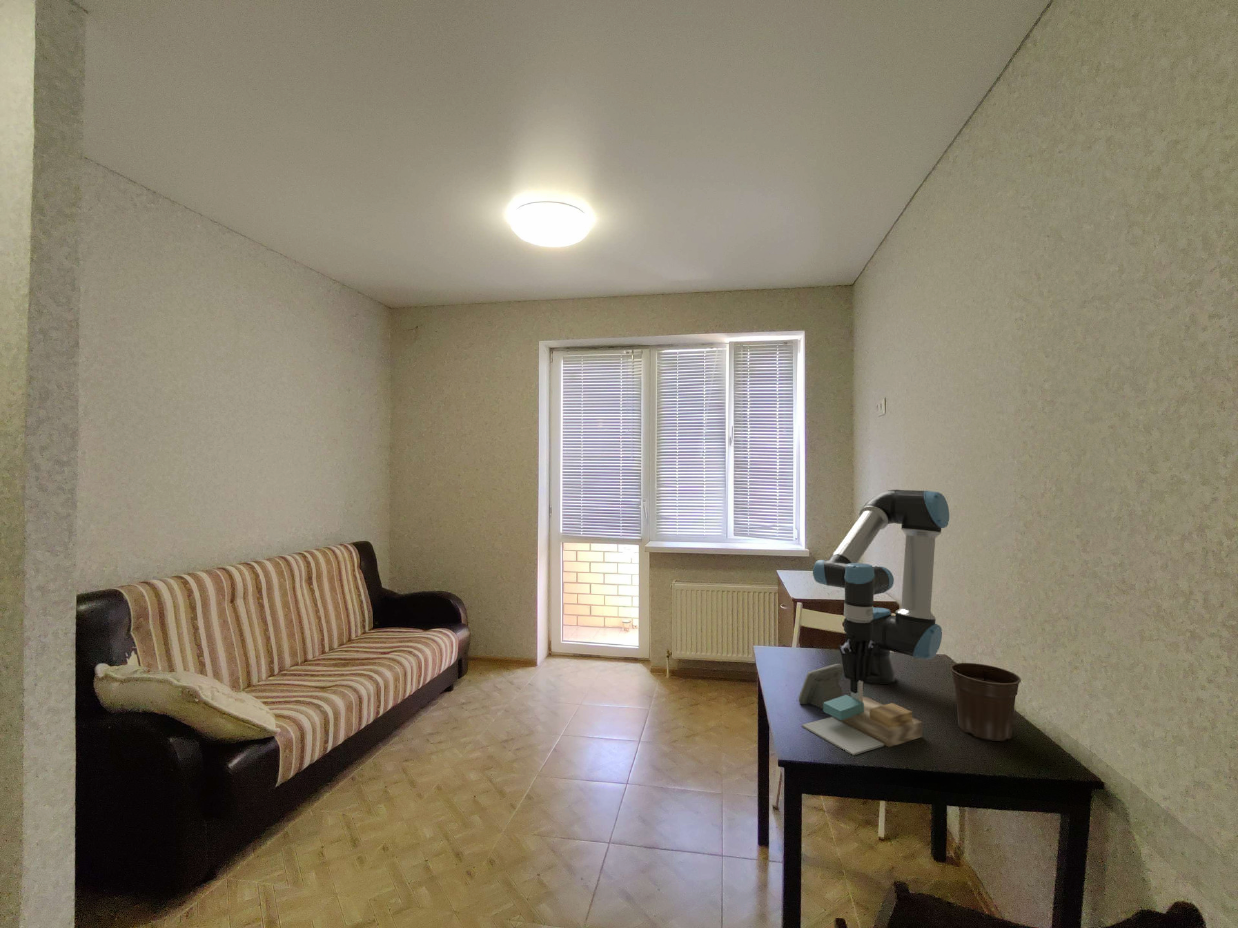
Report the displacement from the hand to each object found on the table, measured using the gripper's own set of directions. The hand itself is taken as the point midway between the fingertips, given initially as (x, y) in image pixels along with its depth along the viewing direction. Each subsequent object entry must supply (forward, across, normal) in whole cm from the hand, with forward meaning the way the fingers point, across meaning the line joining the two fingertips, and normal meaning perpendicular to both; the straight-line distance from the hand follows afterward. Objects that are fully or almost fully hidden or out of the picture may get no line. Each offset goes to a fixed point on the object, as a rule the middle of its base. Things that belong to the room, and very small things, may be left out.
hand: (856, 703), depth 157 cm
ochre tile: (+1, +2, -9) cm, 9 cm away
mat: (+5, -10, -4) cm, 12 cm away
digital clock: (+6, +2, +15) cm, 16 cm away
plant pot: (+5, +28, -18) cm, 34 cm away
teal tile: (+1, -5, 0) cm, 5 cm away
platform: (+5, +2, -4) cm, 7 cm away
